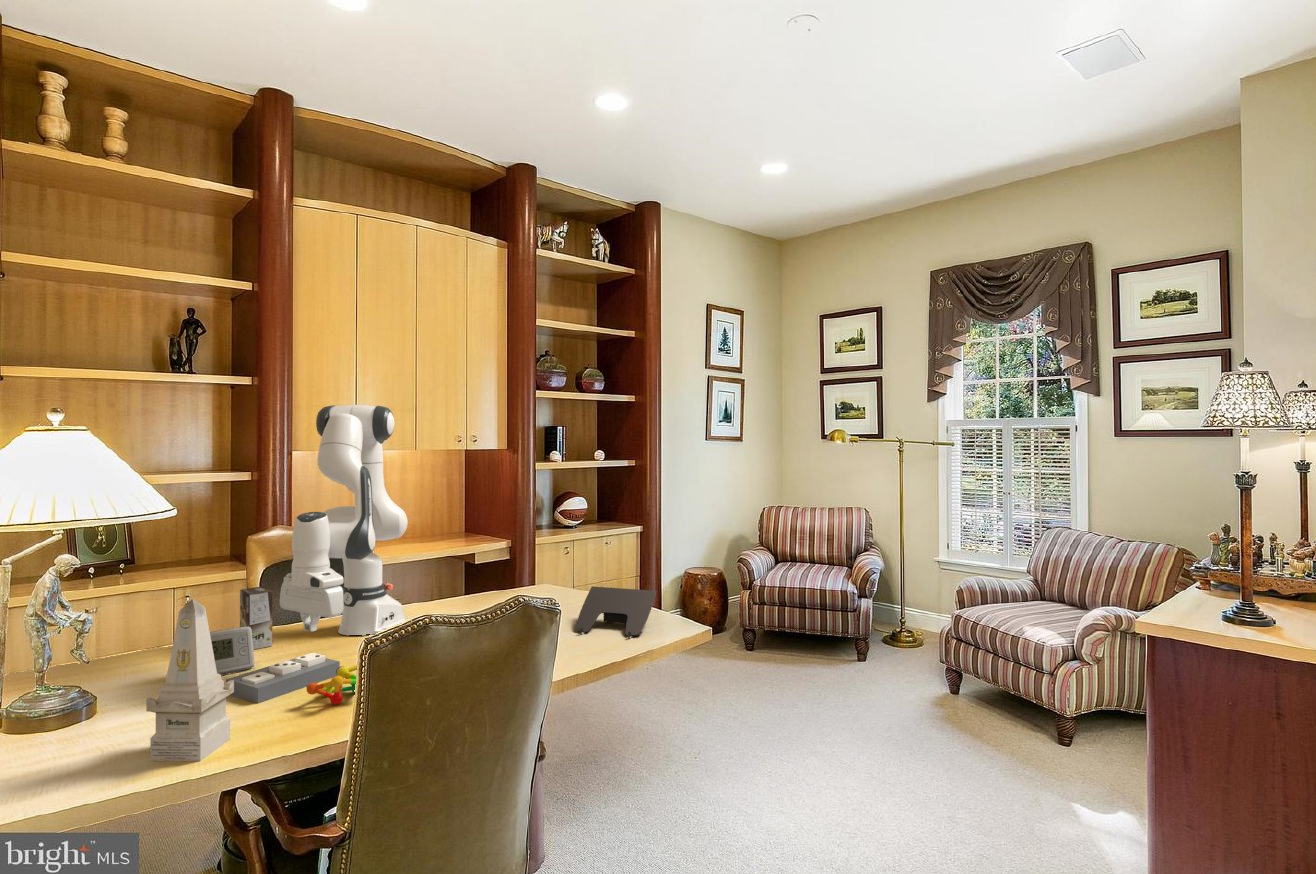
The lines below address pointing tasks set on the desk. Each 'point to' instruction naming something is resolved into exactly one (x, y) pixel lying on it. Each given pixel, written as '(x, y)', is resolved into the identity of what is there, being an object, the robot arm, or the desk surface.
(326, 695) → the decorative model
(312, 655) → the button
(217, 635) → the digital clock
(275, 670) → the button
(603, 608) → the portable electronic device stand
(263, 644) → the coffee box
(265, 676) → the button
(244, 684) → the button panel
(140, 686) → the desk surface
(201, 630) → the miniature monument
